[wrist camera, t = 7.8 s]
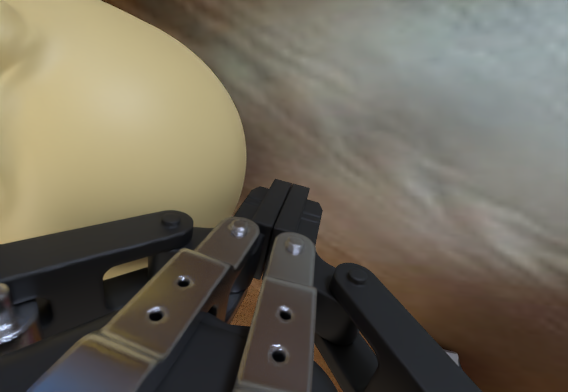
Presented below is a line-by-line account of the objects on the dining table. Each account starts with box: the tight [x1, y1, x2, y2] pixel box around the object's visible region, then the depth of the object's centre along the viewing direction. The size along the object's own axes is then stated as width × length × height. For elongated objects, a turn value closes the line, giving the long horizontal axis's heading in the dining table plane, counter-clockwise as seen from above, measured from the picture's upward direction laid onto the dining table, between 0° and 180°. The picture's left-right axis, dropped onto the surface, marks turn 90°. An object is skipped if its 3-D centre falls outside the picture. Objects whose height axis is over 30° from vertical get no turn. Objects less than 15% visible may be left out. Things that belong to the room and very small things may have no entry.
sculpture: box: [0, 0, 246, 280], centre depth 13 cm, size 12×12×11 cm
